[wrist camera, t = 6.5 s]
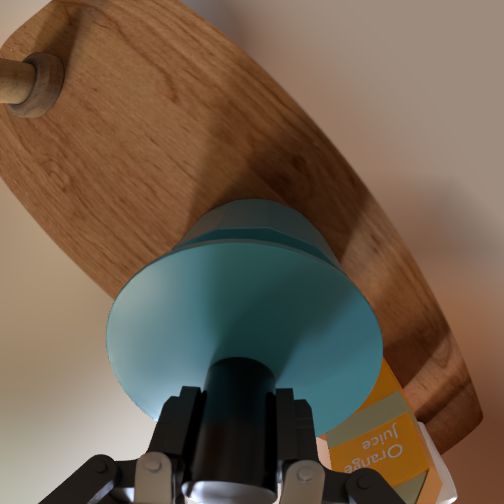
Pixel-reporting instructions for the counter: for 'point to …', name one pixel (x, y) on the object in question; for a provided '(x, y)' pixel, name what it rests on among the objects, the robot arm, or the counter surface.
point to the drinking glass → (440, 472)
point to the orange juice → (387, 442)
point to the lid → (242, 353)
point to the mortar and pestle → (31, 84)
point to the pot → (261, 227)
